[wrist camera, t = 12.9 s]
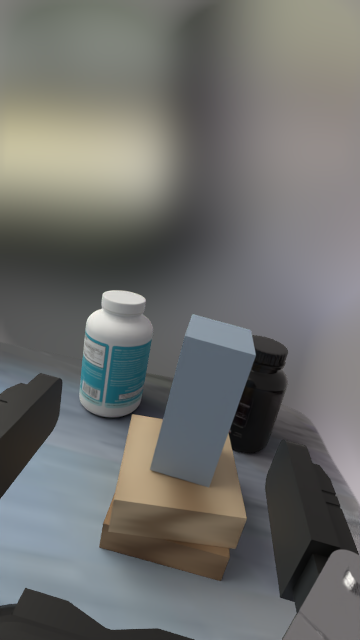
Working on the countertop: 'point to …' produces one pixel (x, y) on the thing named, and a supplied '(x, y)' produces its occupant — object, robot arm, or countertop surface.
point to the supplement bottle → (260, 397)
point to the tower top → (175, 496)
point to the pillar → (203, 399)
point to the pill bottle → (115, 355)
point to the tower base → (168, 551)
